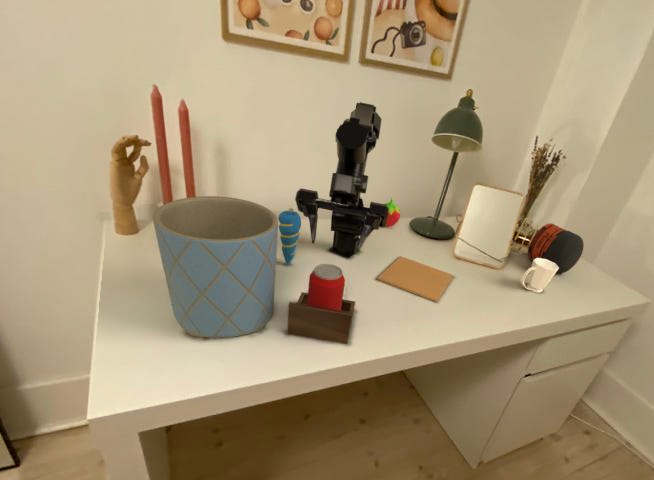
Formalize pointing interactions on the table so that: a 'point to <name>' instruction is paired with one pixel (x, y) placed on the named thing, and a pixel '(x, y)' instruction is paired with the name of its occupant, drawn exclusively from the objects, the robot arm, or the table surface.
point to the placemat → (416, 278)
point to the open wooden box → (320, 320)
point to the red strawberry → (392, 213)
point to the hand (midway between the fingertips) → (335, 246)
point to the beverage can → (326, 287)
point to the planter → (218, 263)
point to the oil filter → (556, 247)
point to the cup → (539, 274)
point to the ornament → (289, 233)
